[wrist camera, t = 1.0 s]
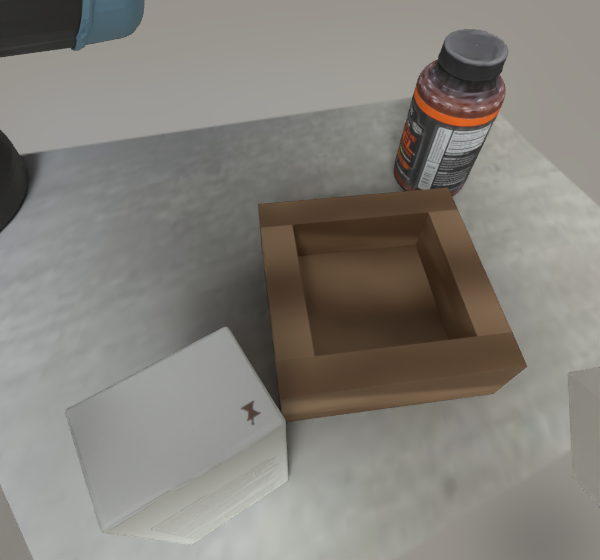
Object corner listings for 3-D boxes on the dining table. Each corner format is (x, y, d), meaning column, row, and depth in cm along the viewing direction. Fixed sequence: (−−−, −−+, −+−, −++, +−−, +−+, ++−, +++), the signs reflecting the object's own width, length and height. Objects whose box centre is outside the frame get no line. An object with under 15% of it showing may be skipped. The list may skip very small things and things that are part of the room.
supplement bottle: (386, 154, 38) (419, 19, 29) (452, 152, 38) (507, 18, 29) (399, 205, 35) (441, 72, 25) (471, 202, 35) (540, 70, 26)
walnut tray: (261, 245, 32) (258, 204, 28) (429, 229, 34) (447, 187, 30) (282, 422, 25) (281, 398, 22) (493, 393, 27) (527, 366, 23)
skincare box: (253, 413, 26) (231, 319, 16) (290, 481, 24) (292, 423, 14) (155, 471, 24) (57, 407, 14) (186, 549, 22) (101, 541, 12)
